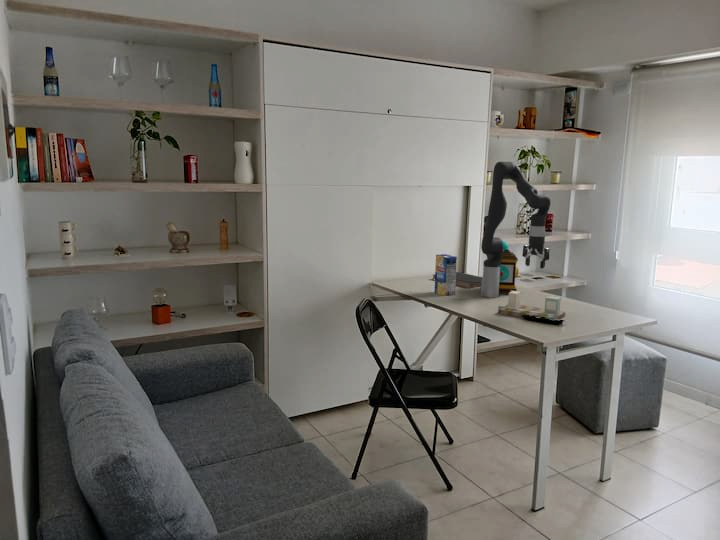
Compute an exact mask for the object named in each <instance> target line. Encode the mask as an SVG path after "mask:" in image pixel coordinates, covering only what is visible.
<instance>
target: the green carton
mask: <svg viewBox="0 0 720 540" xmlns="http://www.w3.org/2000/svg"><path fill="white" fill-rule="evenodd" d="M544 299H545V300H544V309H545V312H544V313H547V314H553V315H556V316H557V315H559V314H560V311H561V299H562V297H557V296H551V295H550V296H546V297H545V298H544Z"/></svg>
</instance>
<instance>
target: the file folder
mask: <svg viewBox="0 0 720 540" xmlns="http://www.w3.org/2000/svg"><path fill="white" fill-rule="evenodd" d="M433 279H435V273H434V274H432V280H433ZM481 279H483V276H477V275H473V274H469V273H463V272H460V271H459V272H458V271H456V286H458V287H463V288H465V289H466V288H467V289H473V288H474V287H476V288H481ZM474 289H475V288H474Z"/></svg>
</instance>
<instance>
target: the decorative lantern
mask: <svg viewBox="0 0 720 540" xmlns="http://www.w3.org/2000/svg"><path fill="white" fill-rule="evenodd" d="M502 241H503V254H502V262H501V264H500V280H499V291H500V290H503V291H518V289H517V286H516V283H515V282H516V278H517V277H518V276H519V267H518V266H517V263H518V261H519V259H518V257H517V255H516V254H515V253H514V252H511V251H510V249H509V244H508V243H507V242H506V241H505V240H502ZM485 255H486V259H488V258H489V257H490V256H491V254H485Z"/></svg>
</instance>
